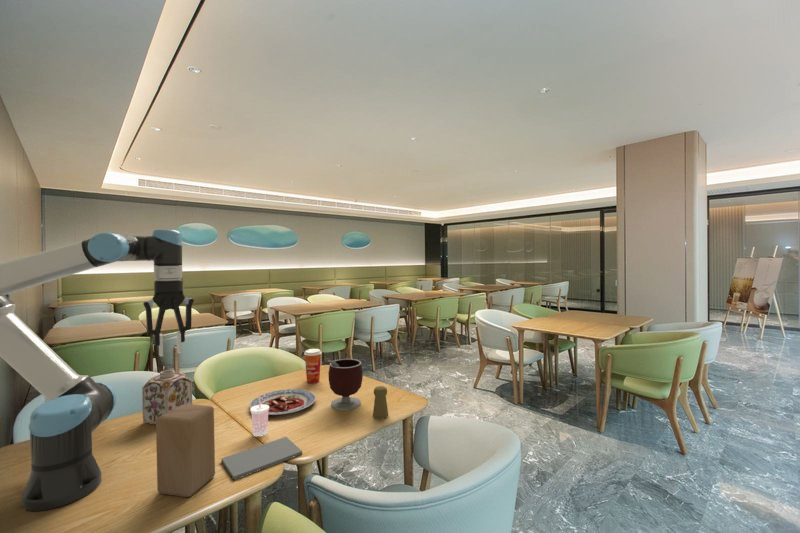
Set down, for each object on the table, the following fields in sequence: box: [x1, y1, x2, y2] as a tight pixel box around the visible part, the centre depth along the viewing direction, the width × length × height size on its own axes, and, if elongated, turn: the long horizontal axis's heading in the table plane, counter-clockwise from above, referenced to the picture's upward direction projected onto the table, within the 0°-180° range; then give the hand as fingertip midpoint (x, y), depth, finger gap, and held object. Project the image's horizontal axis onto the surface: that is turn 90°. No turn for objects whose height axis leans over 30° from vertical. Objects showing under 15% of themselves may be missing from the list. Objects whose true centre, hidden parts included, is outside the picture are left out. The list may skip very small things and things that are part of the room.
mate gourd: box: [326, 358, 364, 411], centre depth 150 cm, size 16×14×20 cm
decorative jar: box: [141, 369, 193, 425], centre depth 138 cm, size 12×12×18 cm
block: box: [155, 403, 216, 498], centre depth 97 cm, size 10×10×20 cm
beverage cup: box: [249, 392, 269, 437], centre depth 126 cm, size 6×6×14 cm
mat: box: [220, 436, 303, 480], centre depth 111 cm, size 20×12×1 cm, turn 130°
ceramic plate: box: [249, 388, 317, 416], centre depth 150 cm, size 26×26×3 cm
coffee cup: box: [303, 348, 322, 384], centre depth 179 cm, size 8×8×15 cm
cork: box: [372, 385, 389, 420], centre depth 140 cm, size 6×6×11 cm
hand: (170, 354), depth 114 cm, fingers open, 4 cm apart
